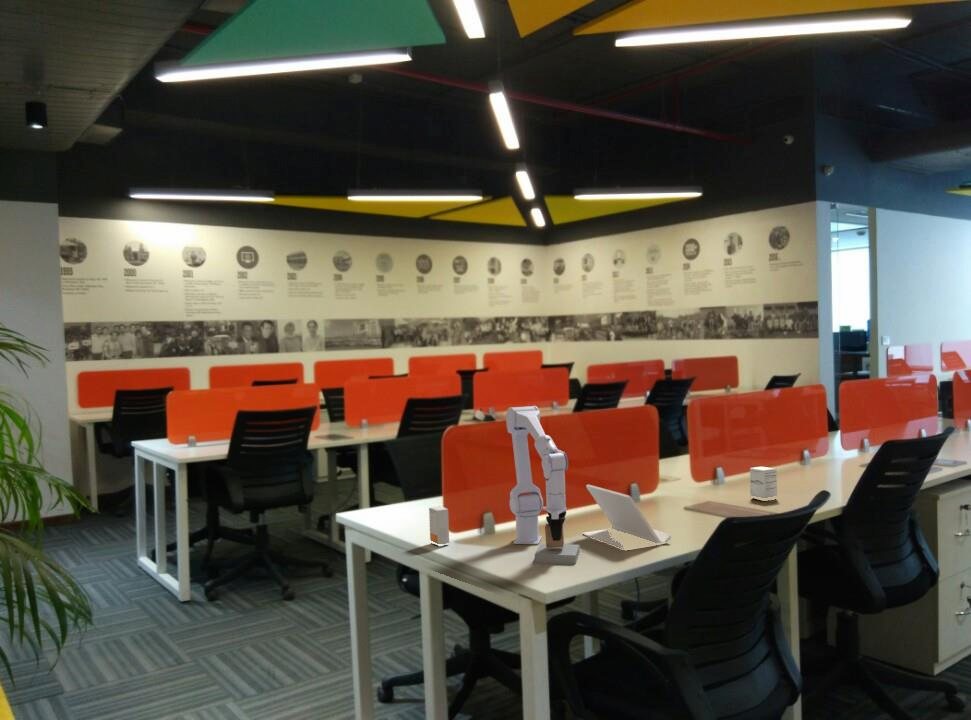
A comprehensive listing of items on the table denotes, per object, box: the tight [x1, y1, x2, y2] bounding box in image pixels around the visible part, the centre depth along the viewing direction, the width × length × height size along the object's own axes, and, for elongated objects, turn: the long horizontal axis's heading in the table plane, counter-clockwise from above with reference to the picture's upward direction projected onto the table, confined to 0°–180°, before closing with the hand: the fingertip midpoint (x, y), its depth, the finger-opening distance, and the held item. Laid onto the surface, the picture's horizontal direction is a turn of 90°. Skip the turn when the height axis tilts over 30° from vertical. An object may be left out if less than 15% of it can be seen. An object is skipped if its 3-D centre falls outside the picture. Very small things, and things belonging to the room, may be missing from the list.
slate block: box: [534, 543, 581, 565], centre depth 229 cm, size 12×12×3 cm
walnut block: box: [544, 523, 565, 548], centre depth 229 cm, size 5×5×6 cm
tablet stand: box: [582, 484, 672, 549], centre depth 248 cm, size 18×25×17 cm
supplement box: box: [749, 466, 778, 498], centre depth 301 cm, size 7×7×13 cm
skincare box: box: [428, 505, 450, 544], centre depth 249 cm, size 6×4×12 cm
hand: (557, 538), depth 229 cm, fingers closed on walnut block, 5 cm apart
